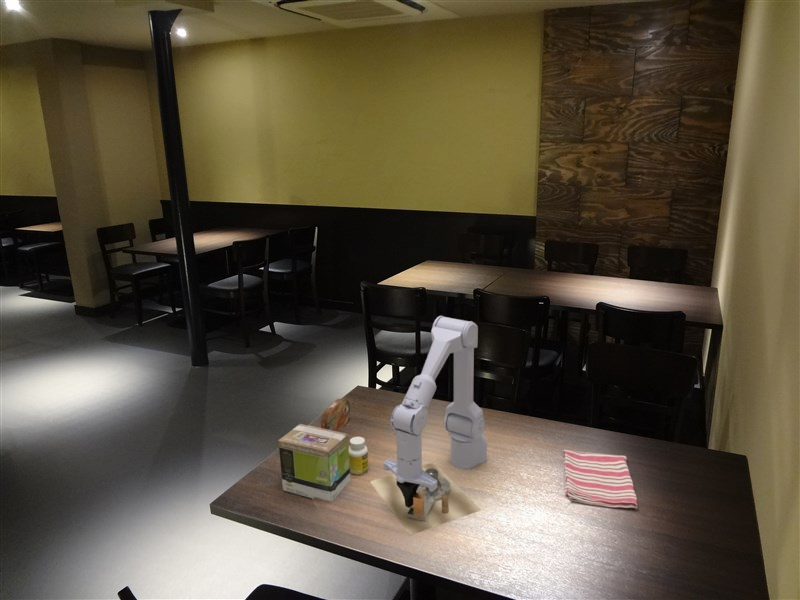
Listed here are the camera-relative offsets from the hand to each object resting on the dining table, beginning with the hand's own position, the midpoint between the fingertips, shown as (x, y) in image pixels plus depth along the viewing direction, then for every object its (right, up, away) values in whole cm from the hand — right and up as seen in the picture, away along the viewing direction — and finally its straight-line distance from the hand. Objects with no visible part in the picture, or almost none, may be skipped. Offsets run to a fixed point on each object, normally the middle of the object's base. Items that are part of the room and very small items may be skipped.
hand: (410, 505), depth 132 cm
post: (+6, 0, +9) cm, 11 cm away
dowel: (+8, -3, +1) cm, 9 cm away
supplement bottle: (-14, +2, +18) cm, 23 cm away
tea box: (-24, 0, +12) cm, 27 cm away
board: (+3, -1, +7) cm, 8 cm away
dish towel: (+49, +1, +13) cm, 51 cm away
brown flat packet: (-22, +8, +41) cm, 48 cm away
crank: (+4, 0, +5) cm, 7 cm away
